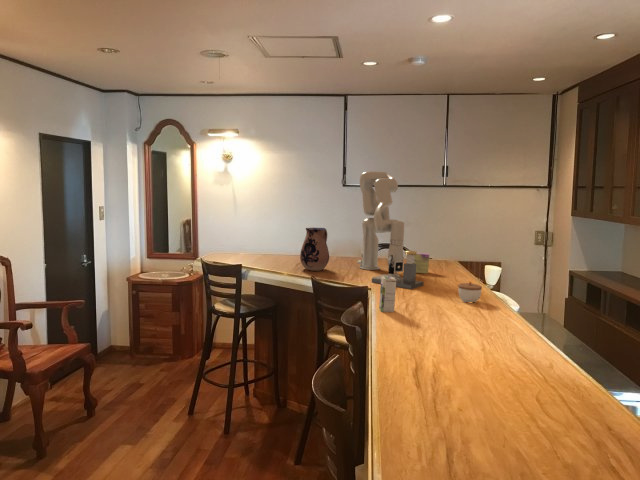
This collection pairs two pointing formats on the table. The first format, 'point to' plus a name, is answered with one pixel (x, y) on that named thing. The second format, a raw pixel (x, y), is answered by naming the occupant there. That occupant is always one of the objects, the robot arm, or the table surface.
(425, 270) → the box
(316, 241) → the ceramic pitcher
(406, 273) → the press base
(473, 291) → the lidded jar
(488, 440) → the table surface
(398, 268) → the security camera
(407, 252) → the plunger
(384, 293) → the syrup box
